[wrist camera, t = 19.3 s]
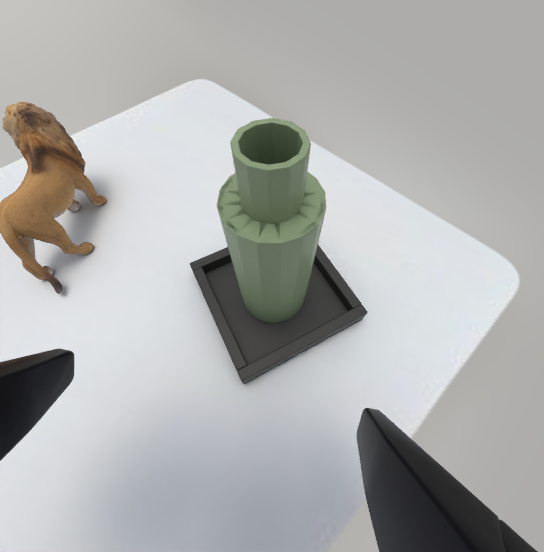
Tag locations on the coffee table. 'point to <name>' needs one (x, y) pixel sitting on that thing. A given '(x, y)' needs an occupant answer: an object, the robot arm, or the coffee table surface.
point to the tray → (283, 335)
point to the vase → (272, 217)
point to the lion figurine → (43, 187)
